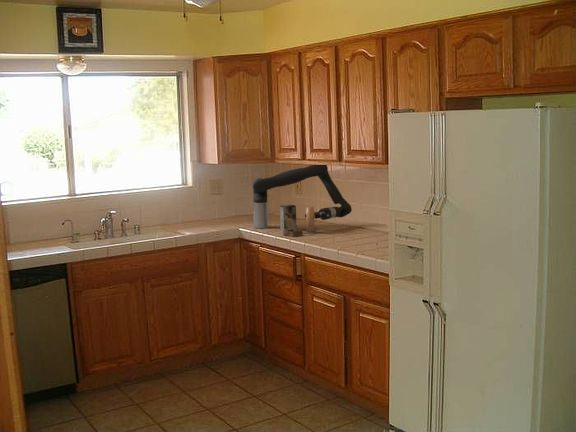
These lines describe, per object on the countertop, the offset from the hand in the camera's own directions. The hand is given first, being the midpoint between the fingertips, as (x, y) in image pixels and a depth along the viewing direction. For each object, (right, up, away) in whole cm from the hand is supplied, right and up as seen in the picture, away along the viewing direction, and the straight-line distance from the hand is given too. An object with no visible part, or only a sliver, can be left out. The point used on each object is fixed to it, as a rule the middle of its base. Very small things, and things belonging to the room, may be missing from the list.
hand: (310, 216), depth 428 cm
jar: (0, -10, +2) cm, 10 cm away
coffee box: (-14, -9, +17) cm, 24 cm away
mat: (0, -10, +2) cm, 11 cm away
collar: (-11, -12, -5) cm, 17 cm away
